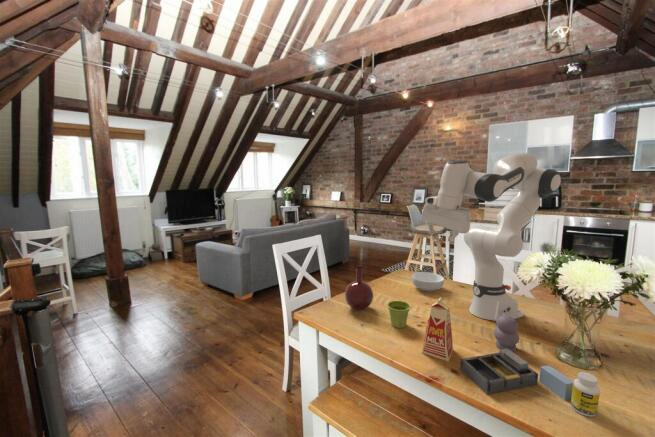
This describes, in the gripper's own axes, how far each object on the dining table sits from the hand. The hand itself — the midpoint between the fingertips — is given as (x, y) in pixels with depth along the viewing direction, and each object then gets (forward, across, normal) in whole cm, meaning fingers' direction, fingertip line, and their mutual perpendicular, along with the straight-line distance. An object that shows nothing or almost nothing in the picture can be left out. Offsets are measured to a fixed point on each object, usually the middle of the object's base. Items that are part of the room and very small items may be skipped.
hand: (440, 237), depth 120 cm
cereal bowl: (+40, +27, -34) cm, 59 cm away
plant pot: (+40, +6, +7) cm, 41 cm away
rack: (+34, -35, +5) cm, 49 cm away
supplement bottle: (+31, -54, -1) cm, 63 cm away
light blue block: (+32, -47, -4) cm, 57 cm away
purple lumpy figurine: (+34, -27, -13) cm, 45 cm away
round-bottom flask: (+44, +27, +12) cm, 52 cm away
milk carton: (+37, -16, +9) cm, 42 cm away
